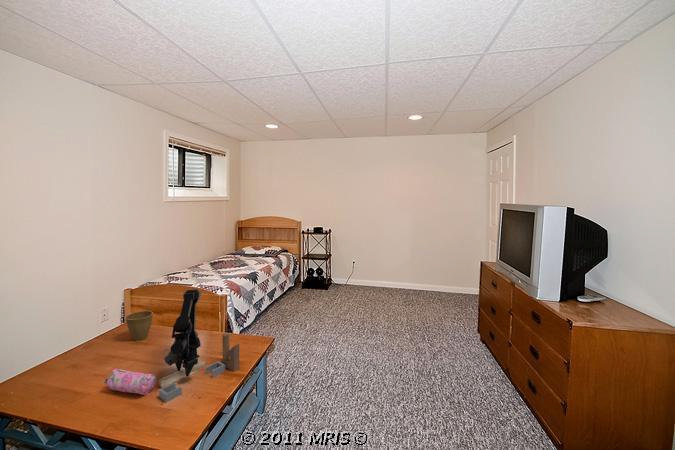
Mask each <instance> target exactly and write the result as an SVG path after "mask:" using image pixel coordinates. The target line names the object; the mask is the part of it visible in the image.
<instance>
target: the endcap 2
mask: <svg viewBox="0 0 675 450" xmlns="http://www.w3.org/2000/svg"><path fill="white" fill-rule="evenodd" d="M224 372H226V367H225V365H224V364H222V363H221V361H219V360H217V361H216V362H214V363H211V364H209V365H207V366H205V374H206V375H208V374H210V373H211V377H212V378H215V377H218V376H219V375H221V374H222V373H224Z"/></svg>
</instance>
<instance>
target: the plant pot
mask: <svg viewBox="0 0 675 450" xmlns="http://www.w3.org/2000/svg"><path fill="white" fill-rule="evenodd" d="M153 315H154V312H153V311H151V310H141V311H137V312H132V313H129V314H128V315H126V316H125V322H126V325H127V328H128V331H129V333H130V336H131V337H132V340H134V341H136V342H137V341H142V340H146V339H147V338H148V336H149V332H150V329H151V326H152V321H153Z"/></svg>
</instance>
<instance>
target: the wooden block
mask: <svg viewBox="0 0 675 450" xmlns="http://www.w3.org/2000/svg"><path fill="white" fill-rule="evenodd" d="M230 344H231V343H230V333H229V332H224V333H222V359H221V361H220V362H221V363H222V364H224V365H225V369H228V370H230V371H233V372H235V371H238V370H239V369H240V343H237V344H236V345H234V346H232V348H231V349H230Z"/></svg>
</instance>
